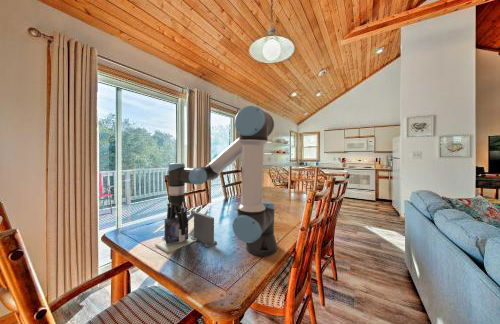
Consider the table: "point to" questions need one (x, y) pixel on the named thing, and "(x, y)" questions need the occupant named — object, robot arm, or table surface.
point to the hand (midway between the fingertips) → (177, 238)
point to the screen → (204, 229)
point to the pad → (175, 244)
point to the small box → (173, 230)
